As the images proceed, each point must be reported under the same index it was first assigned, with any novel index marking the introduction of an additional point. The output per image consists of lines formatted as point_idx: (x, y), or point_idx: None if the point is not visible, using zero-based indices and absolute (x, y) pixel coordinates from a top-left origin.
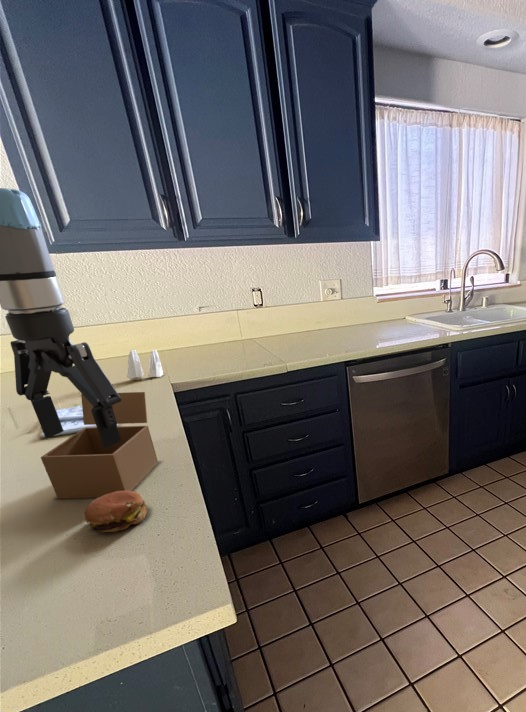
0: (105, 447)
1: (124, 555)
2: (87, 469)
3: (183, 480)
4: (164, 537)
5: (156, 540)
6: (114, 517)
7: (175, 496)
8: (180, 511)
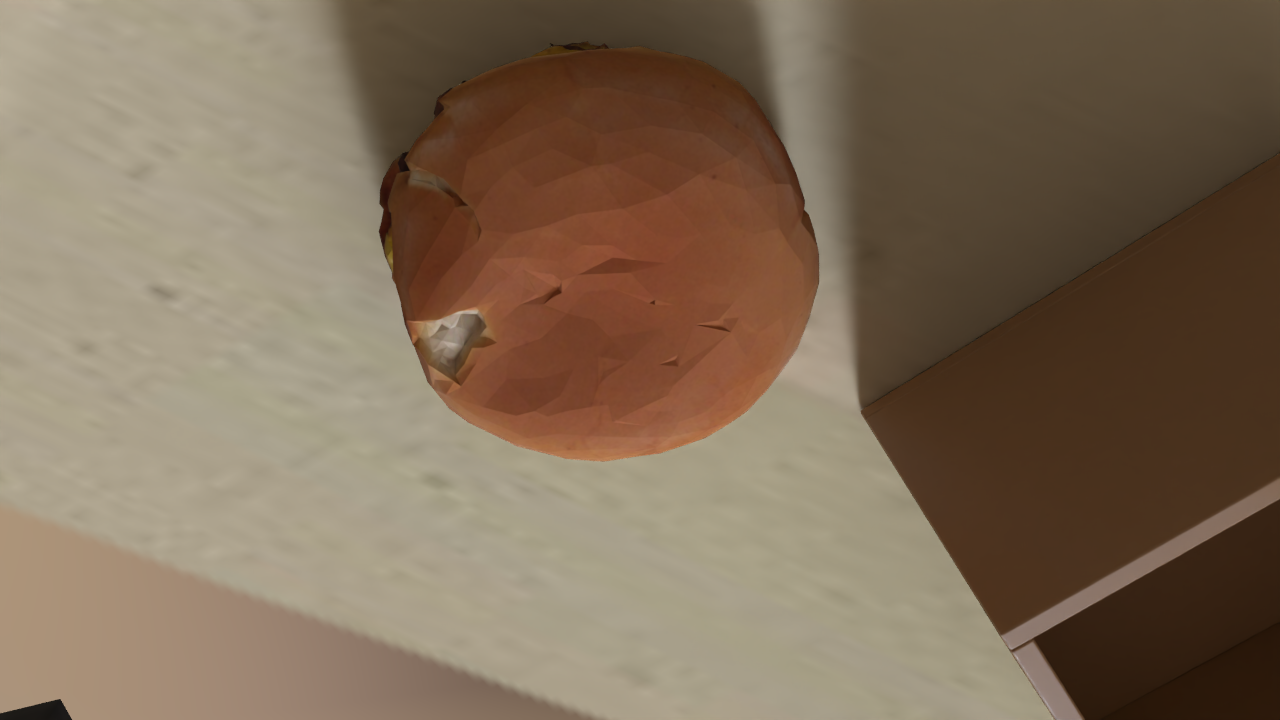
0: (17, 716)
1: (110, 27)
2: (1197, 398)
3: (683, 709)
4: (96, 298)
5: (106, 250)
6: (410, 187)
7: (537, 586)
8: (321, 514)
